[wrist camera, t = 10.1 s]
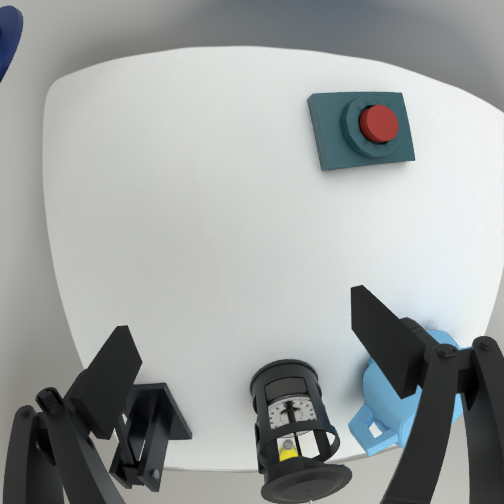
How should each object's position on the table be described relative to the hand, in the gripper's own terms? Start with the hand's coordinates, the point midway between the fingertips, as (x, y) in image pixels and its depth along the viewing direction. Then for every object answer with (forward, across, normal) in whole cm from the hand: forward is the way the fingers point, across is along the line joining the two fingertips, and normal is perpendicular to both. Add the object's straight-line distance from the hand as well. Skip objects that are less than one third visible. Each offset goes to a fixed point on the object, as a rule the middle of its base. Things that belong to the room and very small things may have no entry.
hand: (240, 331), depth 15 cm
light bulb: (+16, +2, -36) cm, 39 cm away
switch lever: (+7, -18, -18) cm, 27 cm away
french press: (+16, +2, -20) cm, 25 cm away
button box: (+16, +16, +12) cm, 25 cm away
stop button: (+12, +16, +12) cm, 23 cm away
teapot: (+16, +20, -20) cm, 33 cm away
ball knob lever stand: (+16, -18, -22) cm, 32 cm away
